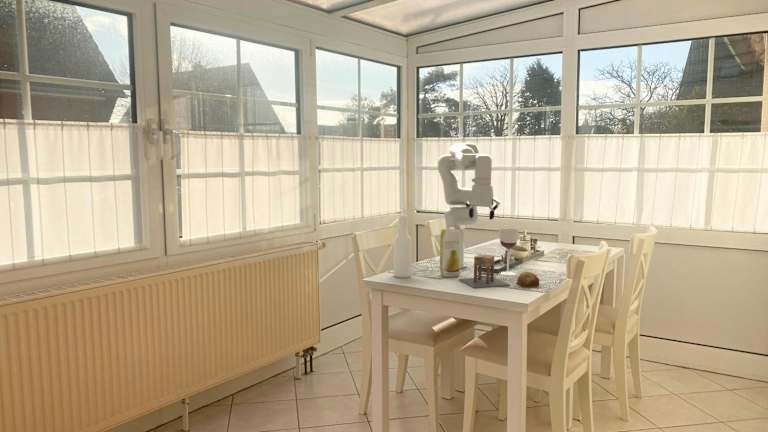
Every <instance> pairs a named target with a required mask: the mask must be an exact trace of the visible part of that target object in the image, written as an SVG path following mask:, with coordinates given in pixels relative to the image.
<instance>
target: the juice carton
mask: <svg viewBox="0 0 768 432" xmlns="http://www.w3.org/2000/svg"><path fill="white" fill-rule="evenodd" d="M440 230H441V231H440V236H439V273H440V275H441V276H443V277H444V278H449V277H450V278H451V277H460V275H461V269H462V268H461V232H460V230H458V229H455V228H453V227H450V228H449V230H446V228H445V229H443V228H442V229H440Z"/></svg>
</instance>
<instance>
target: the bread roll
mask: <svg viewBox="0 0 768 432" xmlns="http://www.w3.org/2000/svg"><path fill="white" fill-rule="evenodd" d="M516 285H517V286H519V287H522V288H537V287H539V286H540V278H539V277H538V276H537V275H536V273H533V272H530V271H524V272H521V273H520V274H519V275H518V277H517V279H516Z"/></svg>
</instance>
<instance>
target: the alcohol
mask: <svg viewBox="0 0 768 432" xmlns="http://www.w3.org/2000/svg"><path fill="white" fill-rule="evenodd" d="M398 217H399V218H398V229H397V230H398V231H397V234H396V235H395V237H394V239H393V275H394V277H396V278H401V279H403V278H404V279H405V278H410V277H411V276H412V267H413V264H412V263H413V262H412V260H413V259H412V257H413V252H412V250H413V247H412V245H413V241H412V237H411V236H410V234H409V231H408V220H407V219H408V215H406V214H399V216H398Z"/></svg>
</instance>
